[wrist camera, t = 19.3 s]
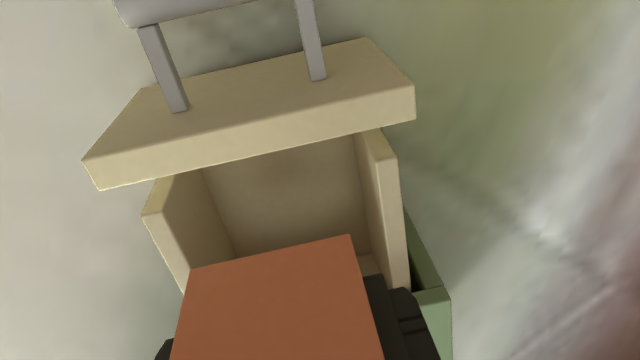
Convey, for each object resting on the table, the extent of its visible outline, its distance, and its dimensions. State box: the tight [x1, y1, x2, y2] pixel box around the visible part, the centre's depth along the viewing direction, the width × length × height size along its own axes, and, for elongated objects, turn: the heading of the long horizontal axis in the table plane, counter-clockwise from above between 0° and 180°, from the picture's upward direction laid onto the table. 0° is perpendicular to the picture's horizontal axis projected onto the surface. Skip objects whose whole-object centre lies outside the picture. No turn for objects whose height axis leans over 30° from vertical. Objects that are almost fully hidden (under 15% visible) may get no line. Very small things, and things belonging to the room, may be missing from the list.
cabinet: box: [402, 203, 453, 360], centre depth 23 cm, size 14×12×9 cm
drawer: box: [81, 0, 417, 295], centre depth 17 cm, size 17×10×7 cm, turn 11°
